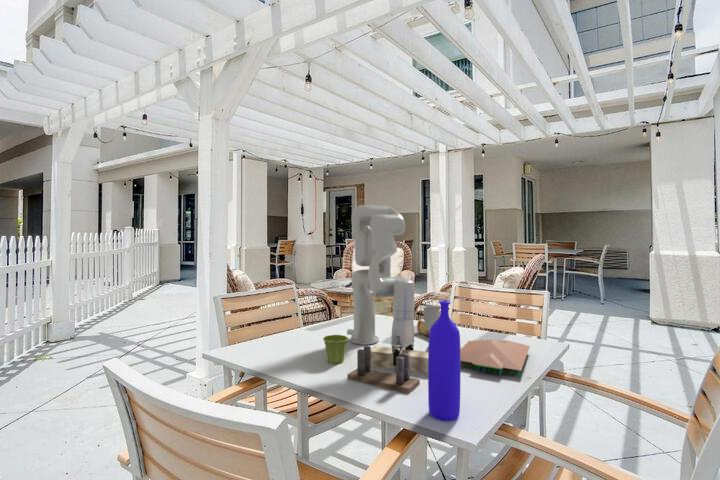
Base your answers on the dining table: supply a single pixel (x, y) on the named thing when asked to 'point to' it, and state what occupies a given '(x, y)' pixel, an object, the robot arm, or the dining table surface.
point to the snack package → (422, 327)
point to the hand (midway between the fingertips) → (403, 361)
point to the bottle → (444, 367)
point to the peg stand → (384, 373)
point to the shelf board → (416, 358)
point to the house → (495, 354)
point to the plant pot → (335, 348)
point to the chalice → (430, 317)
